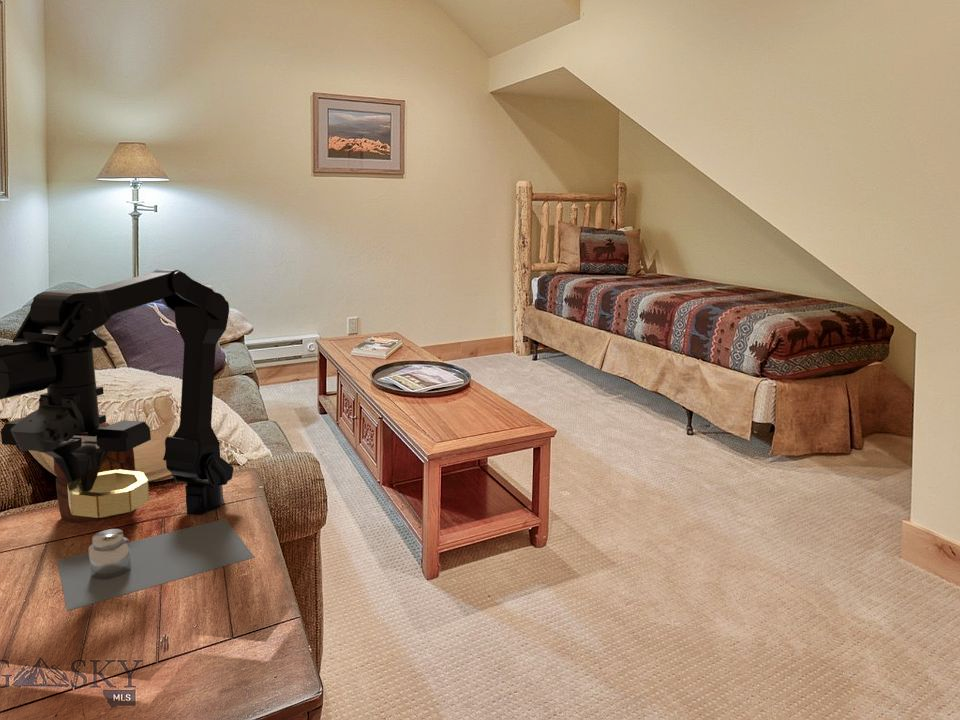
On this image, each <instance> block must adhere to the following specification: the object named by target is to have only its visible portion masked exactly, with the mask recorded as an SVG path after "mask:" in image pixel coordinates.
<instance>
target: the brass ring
mask: <svg viewBox="0 0 960 720" xmlns="http://www.w3.org/2000/svg"><path fill="white" fill-rule="evenodd" d="M67 487H68V501H69V507H70V511H71V514H73V515H77V516H86V517H95V518H98V517H100V518H101V517H106V516H111V515H116V514H121V513H126V512H130V511H133V510H134V509H135V510H137V509H138V508H139V507H141V506H142V505H144V504H146V503H148V502H149V500H150V495H149V494H150V493H149V491H150V489H149V479H148V477H147V476H146V475H145V472H142V471H136V470H135V471H128V470H112V471H105V472H99V473H98V475H97V478H96V480H95V482H94V485H93V487H92V489H91V490H90V491H89V492H86V491H83V487H82V483H81V478H79V479H77V480H75V481H73V482H71V483H69V484H68V485H67ZM135 510H134V511H135ZM134 511H133V512H134Z"/></svg>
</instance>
